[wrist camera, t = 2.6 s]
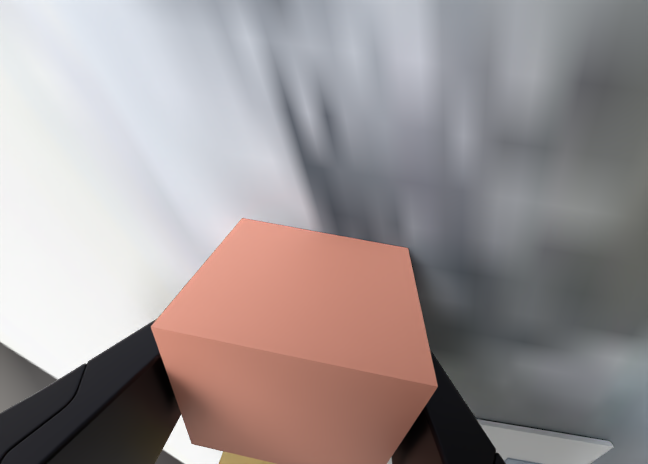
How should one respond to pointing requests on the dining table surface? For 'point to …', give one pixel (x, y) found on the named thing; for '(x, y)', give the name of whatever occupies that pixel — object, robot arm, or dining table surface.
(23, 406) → the robot arm
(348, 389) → the brick mid
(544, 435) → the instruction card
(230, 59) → the dining table surface
